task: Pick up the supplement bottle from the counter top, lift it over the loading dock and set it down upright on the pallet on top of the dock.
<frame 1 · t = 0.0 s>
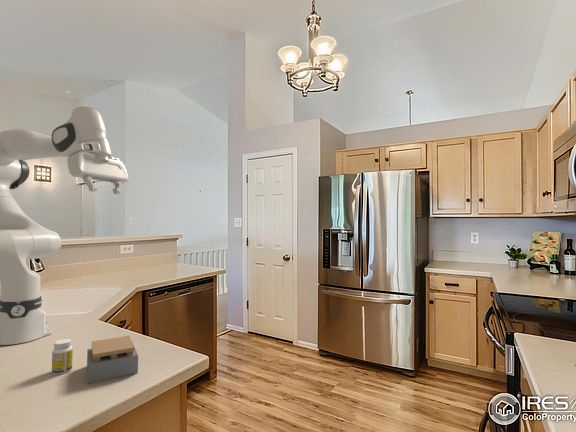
hand: (105, 192, 107), 52 cm above the worktop, tool tilted 20°, fingers open, 8 cm apart
supplement bottle: (62, 371, 92), on the worktop
loading dock: (111, 369, 93), on the worktop
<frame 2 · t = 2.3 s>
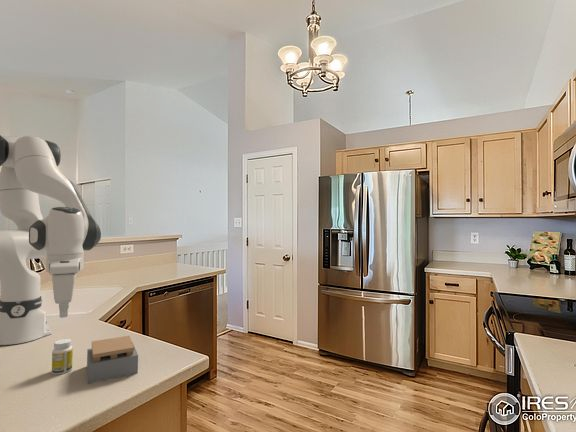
hand: (64, 312, 92), 16 cm above the worktop, tool pointing down, fingers open, 8 cm apart
nothing on the worktop moved.
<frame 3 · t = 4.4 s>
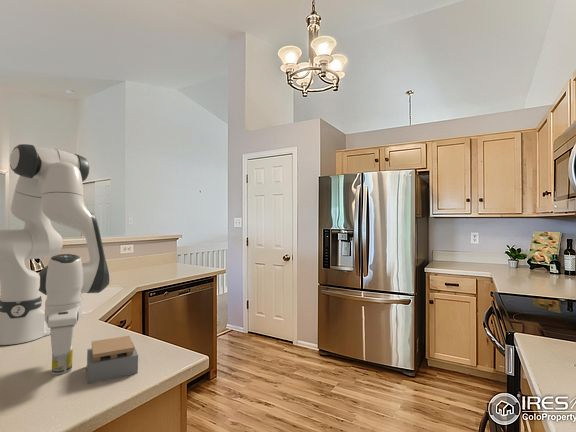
hand: (62, 361, 92), 3 cm above the worktop, tool pointing down, fingers closed on supplement bottle, 5 cm apart
supplement bottle: (62, 371, 92), on the worktop, touching gripper
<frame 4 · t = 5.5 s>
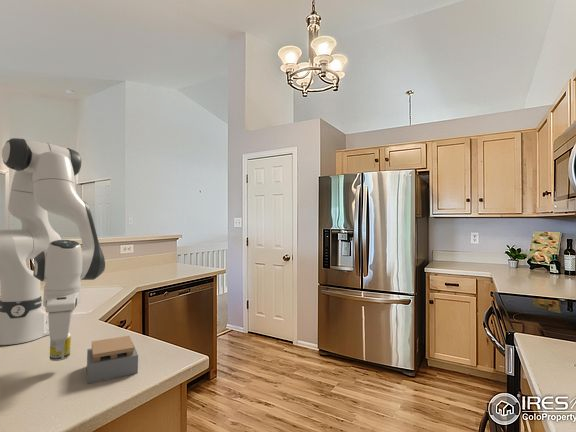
hand: (60, 346, 92), 7 cm above the worktop, tool pointing down, fingers closed on supplement bottle, 5 cm apart
supplement bottle: (59, 358, 92), point 3 cm above the worktop, touching gripper
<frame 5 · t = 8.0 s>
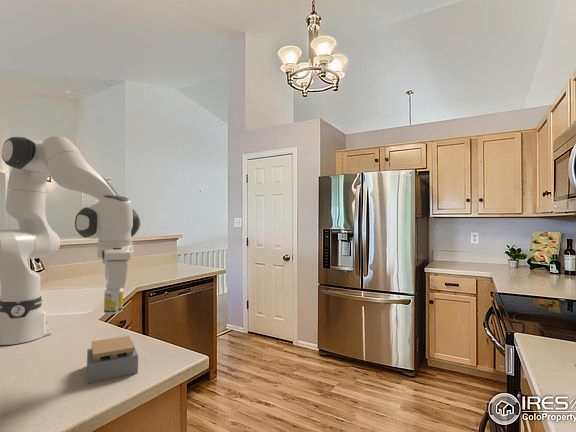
hand: (113, 299, 94), 20 cm above the worktop, tool pointing down, fingers closed on supplement bottle, 5 cm apart
supplement bottle: (113, 312, 94), point 16 cm above the worktop, touching gripper
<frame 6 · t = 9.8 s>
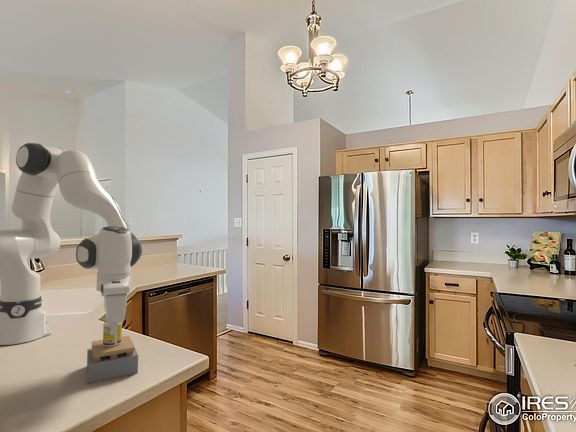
hand: (112, 330, 94), 11 cm above the worktop, tool pointing down, fingers closed on supplement bottle, 5 cm apart
supplement bottle: (112, 344, 94), point 7 cm above the worktop, touching gripper, loading dock
when the fingers open (11 cm above the worktop, at t = 10.3 s): supplement bottle stays where it is, resting on loading dock.
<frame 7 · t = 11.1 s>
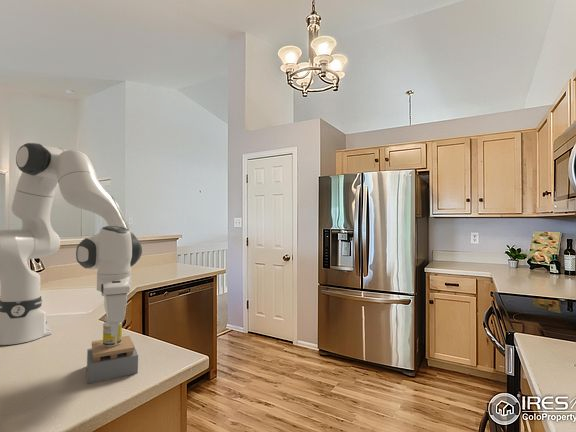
hand: (112, 330, 94), 11 cm above the worktop, tool pointing down, fingers open, 8 cm apart
supplement bottle: (112, 344, 94), point 7 cm above the worktop, touching loading dock
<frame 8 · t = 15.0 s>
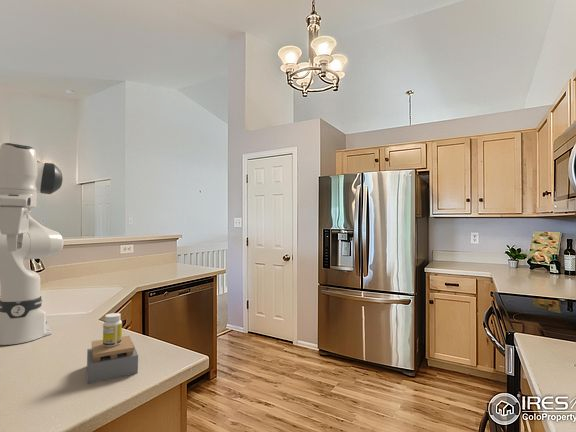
hand: (15, 249, 91), 34 cm above the worktop, tool pointing down, fingers open, 8 cm apart
nothing on the worktop moved.
at the end: supplement bottle inside the target area on the loading dock (0.2 cm from its centre), point 7.0 cm above the loading dock's base; supplement bottle tilted 0°; the gripper is holding nothing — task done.
